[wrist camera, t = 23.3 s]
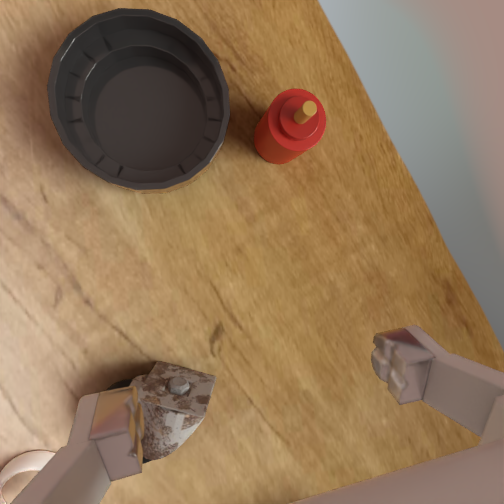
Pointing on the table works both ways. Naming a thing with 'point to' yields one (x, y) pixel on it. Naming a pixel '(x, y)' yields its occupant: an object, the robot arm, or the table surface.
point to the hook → (23, 466)
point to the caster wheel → (170, 406)
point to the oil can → (290, 126)
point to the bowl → (139, 100)
